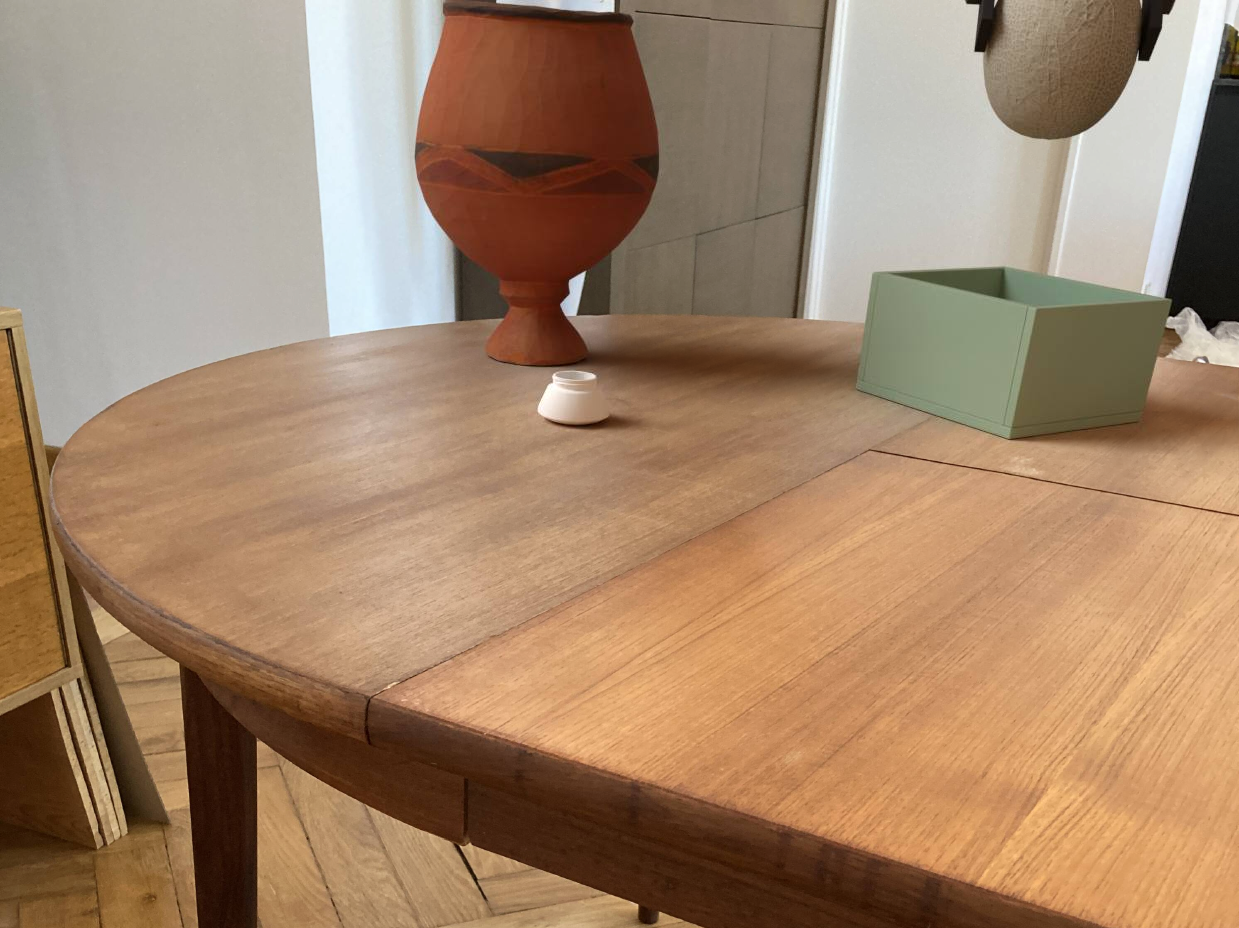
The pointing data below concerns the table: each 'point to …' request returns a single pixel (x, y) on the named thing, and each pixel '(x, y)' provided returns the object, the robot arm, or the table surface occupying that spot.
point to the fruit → (1059, 62)
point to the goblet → (536, 156)
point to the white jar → (574, 399)
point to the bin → (1010, 348)
